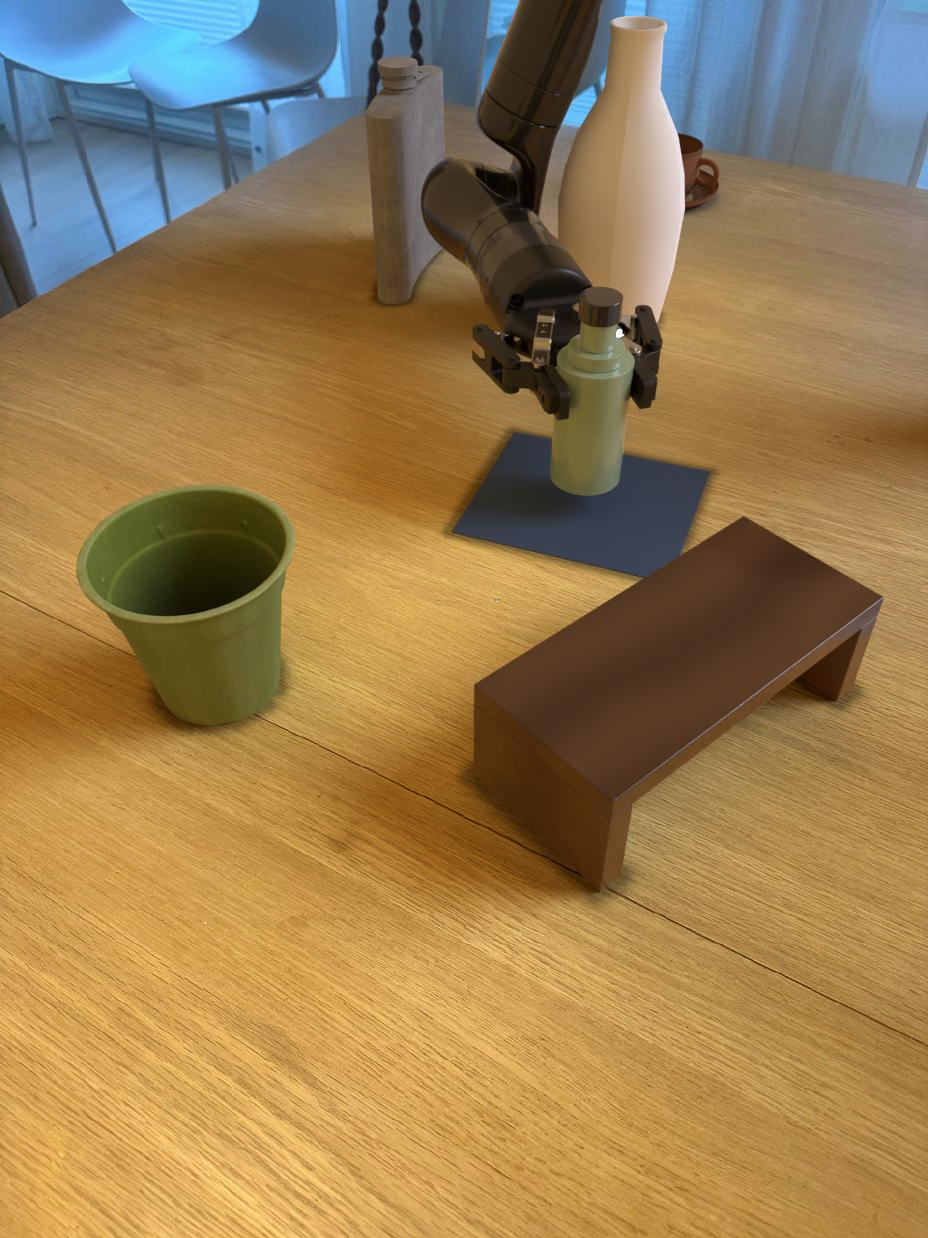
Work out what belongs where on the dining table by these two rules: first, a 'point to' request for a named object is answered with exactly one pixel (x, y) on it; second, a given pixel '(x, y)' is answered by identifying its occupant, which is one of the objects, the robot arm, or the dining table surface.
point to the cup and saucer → (697, 171)
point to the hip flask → (403, 170)
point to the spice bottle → (593, 399)
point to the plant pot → (196, 594)
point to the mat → (586, 510)
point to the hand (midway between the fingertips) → (606, 401)
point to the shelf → (660, 684)
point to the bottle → (626, 175)
